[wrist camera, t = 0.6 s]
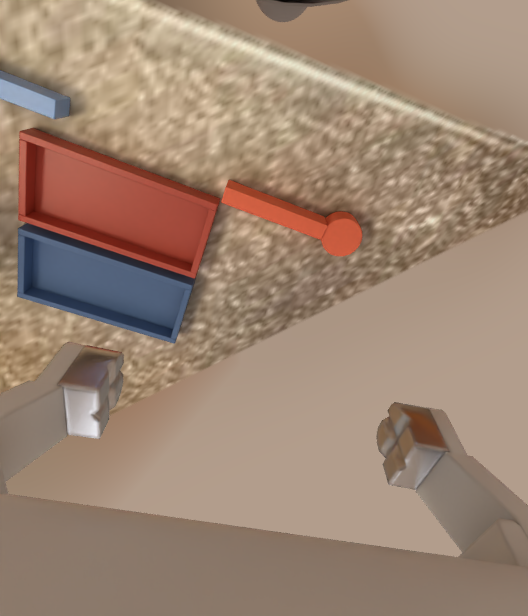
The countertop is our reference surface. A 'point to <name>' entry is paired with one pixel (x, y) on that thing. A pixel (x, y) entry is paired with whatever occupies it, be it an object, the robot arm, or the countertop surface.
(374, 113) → the countertop surface
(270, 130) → the countertop surface
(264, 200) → the red spoon
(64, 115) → the blue spoon
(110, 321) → the blue tray
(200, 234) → the red tray
